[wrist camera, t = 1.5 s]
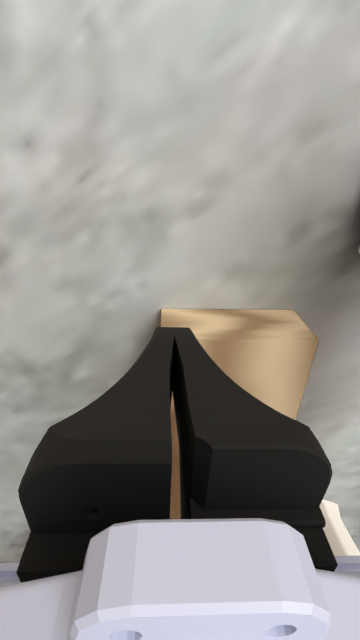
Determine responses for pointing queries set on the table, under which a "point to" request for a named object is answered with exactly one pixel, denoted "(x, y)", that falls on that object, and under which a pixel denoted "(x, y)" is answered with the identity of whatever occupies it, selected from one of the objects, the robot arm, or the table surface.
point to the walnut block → (175, 468)
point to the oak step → (255, 350)
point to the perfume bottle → (337, 531)
